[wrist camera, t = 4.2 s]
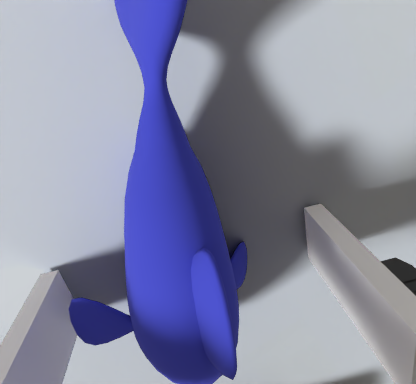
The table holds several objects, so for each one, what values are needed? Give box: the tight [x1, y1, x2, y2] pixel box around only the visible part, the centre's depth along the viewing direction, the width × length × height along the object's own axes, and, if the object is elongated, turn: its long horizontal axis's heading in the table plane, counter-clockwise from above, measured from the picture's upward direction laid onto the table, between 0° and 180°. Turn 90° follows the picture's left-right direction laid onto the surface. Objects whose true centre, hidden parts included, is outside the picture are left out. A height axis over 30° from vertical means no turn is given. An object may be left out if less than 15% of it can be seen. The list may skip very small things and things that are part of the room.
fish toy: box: [69, 0, 247, 384], centre depth 9 cm, size 15×8×7 cm, turn 3°
